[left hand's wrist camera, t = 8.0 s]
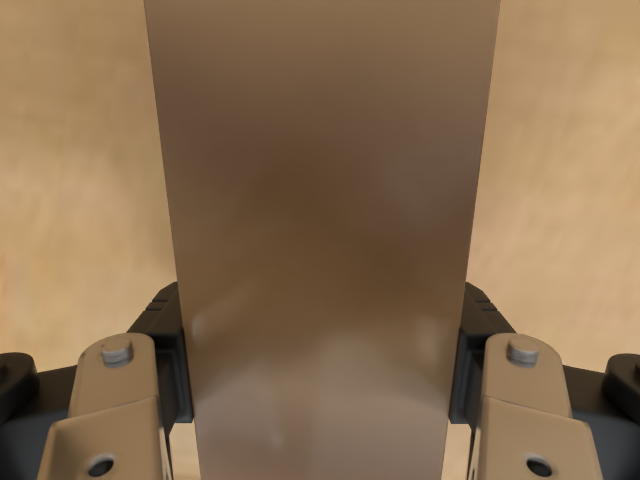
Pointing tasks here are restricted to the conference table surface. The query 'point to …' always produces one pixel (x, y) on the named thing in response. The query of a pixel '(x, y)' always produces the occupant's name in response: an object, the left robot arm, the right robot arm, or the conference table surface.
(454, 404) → the left robot arm
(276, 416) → the cabinet
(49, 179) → the conference table surface
